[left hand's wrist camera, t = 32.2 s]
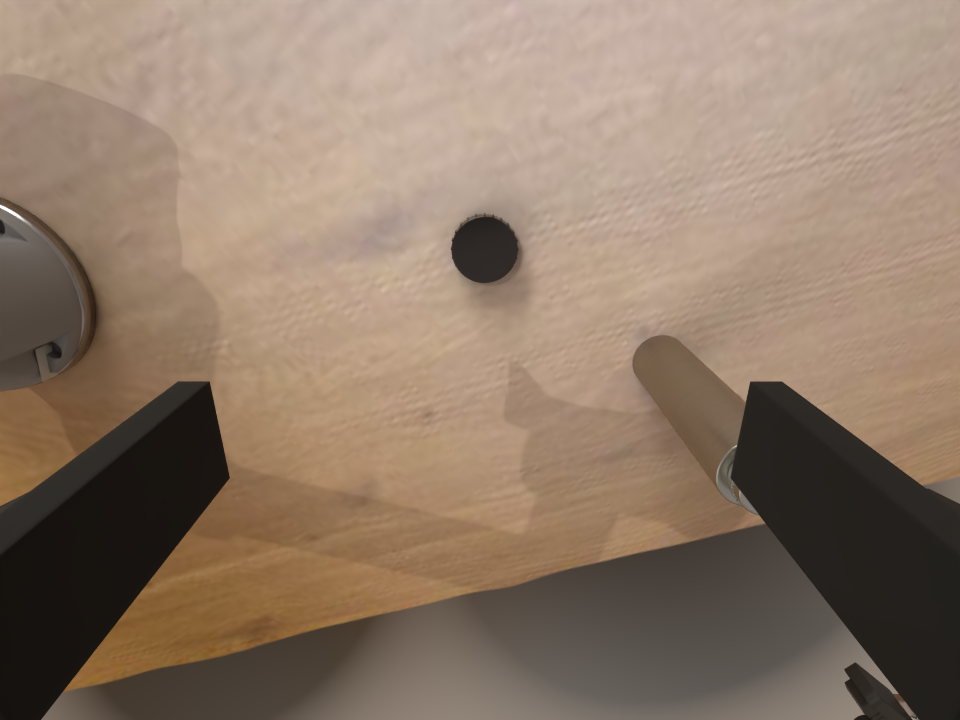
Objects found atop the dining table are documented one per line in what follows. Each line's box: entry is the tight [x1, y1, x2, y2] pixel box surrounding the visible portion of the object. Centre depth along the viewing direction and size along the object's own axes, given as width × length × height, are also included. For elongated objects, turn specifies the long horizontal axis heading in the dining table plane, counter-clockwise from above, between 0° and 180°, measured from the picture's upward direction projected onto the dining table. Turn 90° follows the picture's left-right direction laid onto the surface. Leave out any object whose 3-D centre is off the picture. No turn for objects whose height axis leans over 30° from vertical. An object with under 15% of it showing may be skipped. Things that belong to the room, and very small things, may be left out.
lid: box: [451, 213, 518, 283], centre depth 39 cm, size 5×5×2 cm
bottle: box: [633, 336, 759, 515], centre depth 35 cm, size 4×4×18 cm
